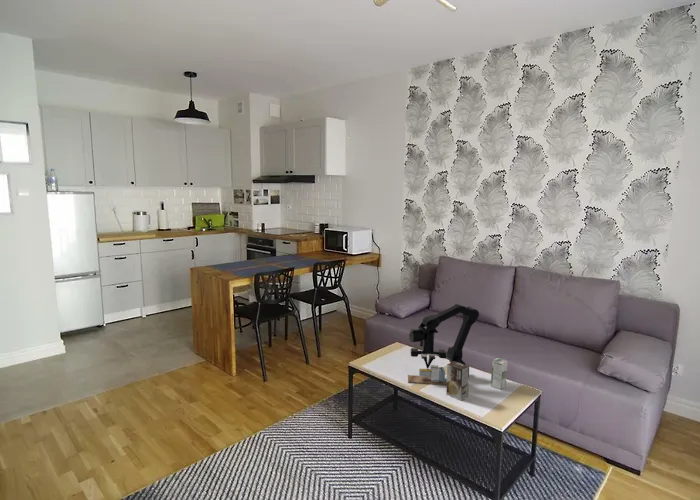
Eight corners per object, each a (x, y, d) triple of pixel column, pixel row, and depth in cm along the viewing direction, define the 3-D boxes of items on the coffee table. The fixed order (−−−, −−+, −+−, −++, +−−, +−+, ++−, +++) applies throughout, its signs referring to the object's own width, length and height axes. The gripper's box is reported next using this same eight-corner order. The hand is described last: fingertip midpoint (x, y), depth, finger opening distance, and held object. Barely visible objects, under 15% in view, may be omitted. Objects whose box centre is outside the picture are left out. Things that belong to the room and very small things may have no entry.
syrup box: (495, 383, 224) (497, 357, 222) (506, 386, 220) (507, 360, 218) (490, 386, 220) (491, 360, 218) (501, 390, 216) (502, 363, 214)
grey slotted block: (431, 381, 223) (431, 370, 222) (430, 376, 229) (430, 365, 228) (438, 382, 222) (439, 370, 221) (437, 376, 229) (438, 365, 228)
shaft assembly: (419, 381, 224) (419, 369, 223) (419, 376, 229) (419, 365, 228) (444, 382, 222) (445, 370, 222) (443, 378, 228) (443, 366, 227)
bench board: (444, 378, 229) (444, 377, 229) (446, 385, 221) (446, 383, 221) (407, 376, 231) (407, 375, 231) (408, 382, 223) (408, 381, 223)
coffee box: (468, 397, 209) (470, 366, 206) (461, 401, 204) (462, 369, 202) (453, 390, 215) (454, 360, 213) (445, 394, 211) (446, 363, 209)
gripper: (444, 336, 233) (443, 363, 235) (410, 334, 235) (409, 361, 237) (447, 343, 222) (445, 371, 224) (411, 341, 224) (410, 369, 226)
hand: (427, 368), depth 228 cm, fingers closed
